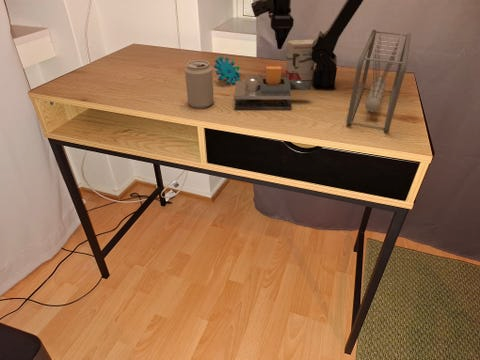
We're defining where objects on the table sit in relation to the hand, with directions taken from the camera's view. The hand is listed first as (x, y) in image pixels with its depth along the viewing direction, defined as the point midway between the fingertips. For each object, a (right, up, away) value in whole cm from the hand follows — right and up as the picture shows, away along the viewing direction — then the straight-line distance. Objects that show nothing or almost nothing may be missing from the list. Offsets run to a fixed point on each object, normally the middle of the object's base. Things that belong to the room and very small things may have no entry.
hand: (278, 44), depth 110 cm
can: (-23, -20, -6) cm, 31 cm away
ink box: (+8, -8, +9) cm, 15 cm away
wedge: (-2, -18, -5) cm, 19 cm away
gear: (-16, -9, +8) cm, 20 cm away
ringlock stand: (-2, -19, -5) cm, 19 cm away
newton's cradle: (+26, -21, -8) cm, 35 cm away
